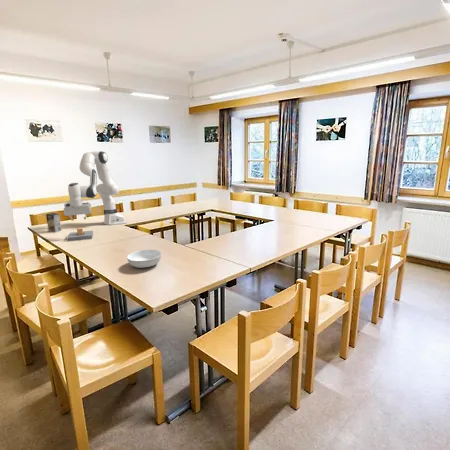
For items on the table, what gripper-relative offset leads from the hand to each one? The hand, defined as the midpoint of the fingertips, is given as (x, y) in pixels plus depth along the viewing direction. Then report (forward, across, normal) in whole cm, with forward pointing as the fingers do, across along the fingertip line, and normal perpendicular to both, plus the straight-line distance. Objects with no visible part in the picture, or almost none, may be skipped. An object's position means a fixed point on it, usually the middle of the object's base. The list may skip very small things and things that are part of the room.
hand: (78, 219), depth 246 cm
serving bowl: (+15, -43, +84) cm, 95 cm away
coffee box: (+15, +24, -32) cm, 43 cm away
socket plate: (+15, 0, 0) cm, 15 cm away
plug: (+15, 0, 0) cm, 15 cm away
